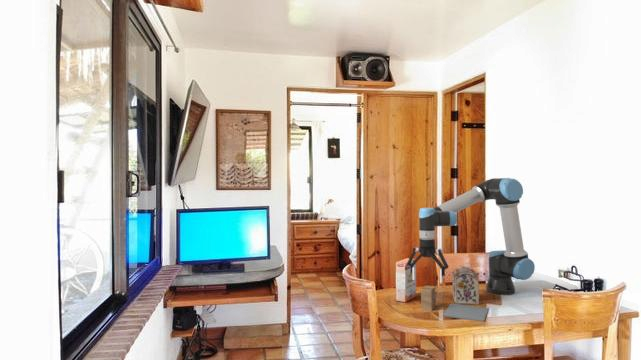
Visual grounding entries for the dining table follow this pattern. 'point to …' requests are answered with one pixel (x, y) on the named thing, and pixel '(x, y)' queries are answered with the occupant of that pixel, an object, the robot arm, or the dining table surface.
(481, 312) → the rubber mat
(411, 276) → the cracker box
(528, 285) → the dining table surface
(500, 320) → the dining table surface
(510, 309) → the dining table surface
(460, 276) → the decorative jar
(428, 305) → the walnut block
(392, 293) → the dining table surface
